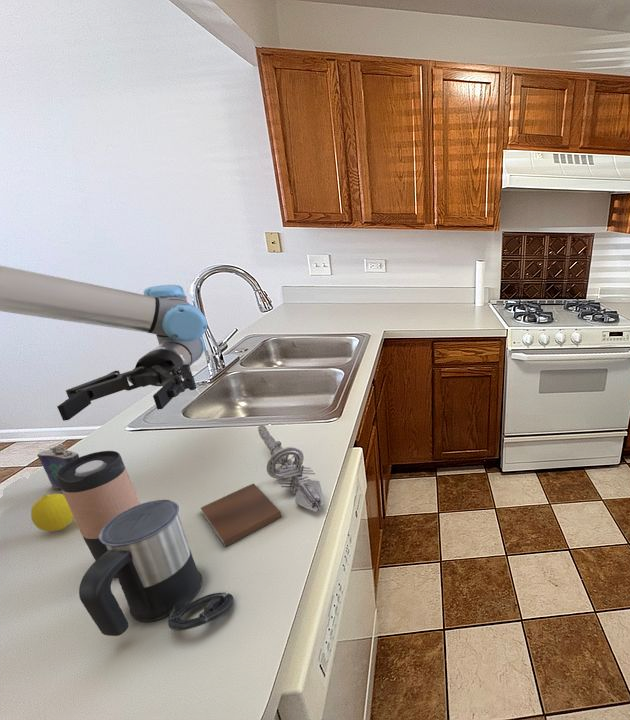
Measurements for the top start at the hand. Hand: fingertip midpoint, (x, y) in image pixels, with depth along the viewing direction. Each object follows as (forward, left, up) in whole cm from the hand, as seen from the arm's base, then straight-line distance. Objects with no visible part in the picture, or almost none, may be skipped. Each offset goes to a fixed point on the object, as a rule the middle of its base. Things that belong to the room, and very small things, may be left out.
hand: (111, 407), depth 68 cm
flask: (-26, -9, -25) cm, 37 cm away
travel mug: (+8, -5, -25) cm, 27 cm away
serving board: (+11, +12, -25) cm, 30 cm away
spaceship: (+6, +24, -25) cm, 35 cm away
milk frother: (+25, -1, -25) cm, 36 cm away
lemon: (-11, -12, -25) cm, 30 cm away
